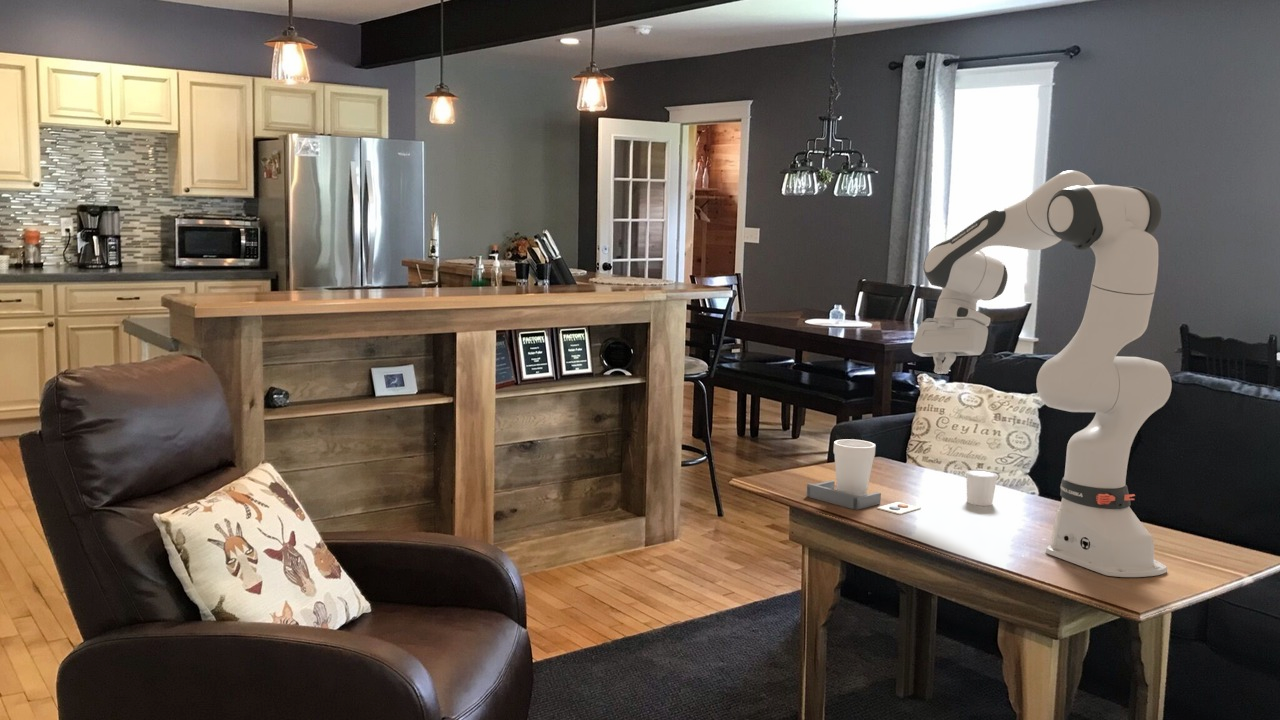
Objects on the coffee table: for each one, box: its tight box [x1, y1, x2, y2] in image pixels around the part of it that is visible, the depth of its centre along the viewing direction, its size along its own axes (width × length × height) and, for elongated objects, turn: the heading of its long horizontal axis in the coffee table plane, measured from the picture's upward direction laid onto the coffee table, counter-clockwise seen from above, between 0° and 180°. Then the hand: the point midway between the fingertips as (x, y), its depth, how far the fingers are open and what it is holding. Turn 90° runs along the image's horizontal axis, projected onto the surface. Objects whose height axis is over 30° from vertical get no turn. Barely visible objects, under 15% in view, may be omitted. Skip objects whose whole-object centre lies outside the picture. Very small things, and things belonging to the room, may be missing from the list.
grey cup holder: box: [806, 480, 882, 511], centre depth 242 cm, size 9×14×3 cm, turn 43°
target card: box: [876, 501, 921, 516], centre depth 237 cm, size 8×6×1 cm
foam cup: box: [832, 438, 877, 496], centre depth 243 cm, size 10×9×13 cm
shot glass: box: [966, 469, 998, 507], centre depth 244 cm, size 7×7×7 cm
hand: (940, 373), depth 244 cm, fingers closed
